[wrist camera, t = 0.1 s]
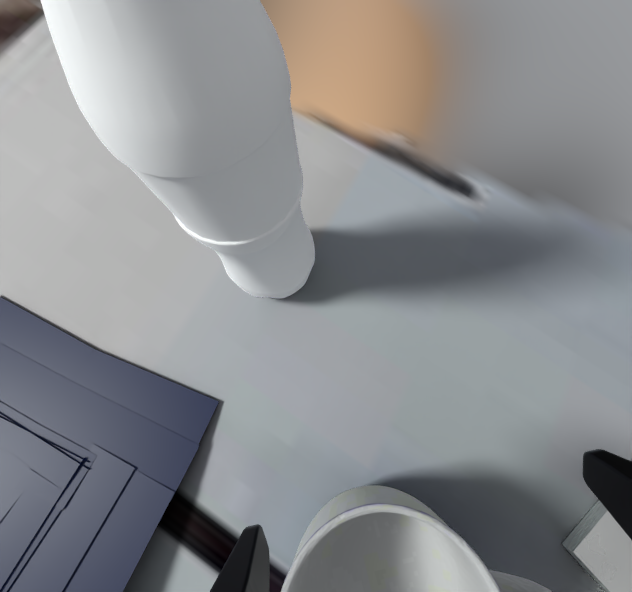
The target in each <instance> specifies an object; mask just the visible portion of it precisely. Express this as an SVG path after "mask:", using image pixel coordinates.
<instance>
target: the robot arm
mask: <svg viewBox="0 0 632 592" xmlns="http://www.w3.org/2000/svg"><path fill="white" fill-rule="evenodd" d="M583 478H584V480H585V482H586V484H587V485H588V487H589V488H590V489H591V491H592V492H593V493H594V494H595V495H596V497H597V498H598V499H599V500H600V502H601V503H602V504H603V505H604V507H605V508H606V509H607V510H608V512H609V513H610V514H611V515H612V517H613V518H614V519H615V520H616V522H617V523H618V524H619V525H620V526H621V528H622V529H623V530H624V531H625V533H626V534H627V535H628V536H629V538H630V539H631V540H632V462H631V461H629V460H626V459H624V458H622V457H619V456H617V455H615V454H612V453H610V452H607V451H605V450H601V449H596V450H592V451H587V452H585V453H584V455H583ZM210 592H269V548H268V544H267V541H266V538H265V535H264V532H263V529H262V527H261V526H260V525H258V524H257V525H253V526H248V527H246V528H245V529H244V530H243V532H242V534H241V536H240V538H239V539H238V541H237V543H236V545H235V547H234V549H233V550H232V552H231V554H230V556H229V558H228V559H227V561H226V563H225V565H224V567H223V569H222V570H221V572H220V574H219V576H218V578H217V579H216V581H215V583H214V585H213V587H212V589H211V590H210Z"/></svg>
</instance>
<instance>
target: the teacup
mask: <svg viewBox="0 0 632 592" xmlns="http://www.w3.org/2000/svg"><path fill="white" fill-rule="evenodd" d="M281 592H552V591H551V590H550V589H548V588H546V587H544V586H542V585H540V584H538V583H536V582H533V581H531V580H528V579H525V578H522V577H519V576H516V575H511V574H507V573H503V572H499V571H493V570H488V568H487V567H486V565H485V564H484V562H483V561H482V560H481V558H480V557H479V555H478V554H477V553H476V552H475V551H474V550H473V549H472V547H471V546H470V545H469V544H468V543H467V542H466V541H465V540H464V539H463V538H462V537H461V536H460V535H459V534H458V533H456V532H455V531H454V530H453V529H451V528H450V527H449V526H448V525H447V524H446V523H445V522H444V521H443V520H442V519H441V518H440V517H439V516H437V515H436V514H435V513H434V512H433V511H432V510H431V509H430V508H429V507H427V506H426V505H425V504H423V503H422V502H421V501H419V500H417V499H416V498H414V497H413V496H411V495H409V494H407V493H405V492H402V491H400V490H397V489H394V488H391V487H386V486H379V485H369V486H361V487H356V488H353V489H350V490H347V491H345V492H343V493H341V494H339V495H338V496H336V497H335V498H333V499H332V500H330V501H329V502H328V503H327V504H326V505H325V506H324V507H323V508H322V509H321V510H320V511H319V512H318V513H317V514H316V516H315V517H314V519H313V520H312V522H311V523H310V524H309V526H308V528H307V530H306V532H305V533H304V535H303V538H302V540H301V542H300V544H299V547H298V550H297V552H296V555H295V558H294V561H293V563H292V566H291V568H290V570H289V572H288V574H287V577H286V579H285V581H284V584H283V586H282V590H281Z"/></svg>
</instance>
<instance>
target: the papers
mask: <svg viewBox="0 0 632 592" xmlns="http://www.w3.org/2000/svg"><path fill="white" fill-rule="evenodd" d="M218 402H219V401H216V400H214V399H212V398H209V397H207V396H205V395H202V394H200V393H197V392H195V391H193V390H190V389H188V388H186V387H183V386H181V385H178V384H176V383H174V382H171V381H169V380H167V379H164V378H162V377H159V376H157V375H155V374H152V373H150V372H148V371H145V370H143V369H140V368H138V367H136V366H133V365H131V364H129V363H126V362H124V361H121V360H119V359H117V358H114V357H112V356H110V355H107V354H105V353H103V352H100V351H98V350H95V349H93V348H92V347H90V346H88V345H86V344H84V343H83V342H81V341H79V340H77V339H75V338H74V337H72V336H70V335H68V334H66V333H65V332H63V331H61V330H59V329H57V328H55V327H54V326H52V325H50V324H48V323H46V322H45V321H43V320H41V319H39V318H37V317H36V316H34V315H32V314H30V313H28V312H27V311H25V310H23V309H21V308H19V307H18V306H16V305H14V304H12V303H10V302H9V301H7V300H5V299H3V298H1V297H0V592H123V590H124V588H125V586H126V584H127V583H128V581H129V579H130V577H131V575H132V573H133V571H134V569H135V567H136V565H137V563H138V562H139V560H140V558H141V556H142V554H143V552H144V550H145V548H146V546H147V544H148V542H149V541H150V539H151V537H152V535H153V533H154V531H155V529H156V527H157V525H158V523H159V521H160V519H161V518H162V516H163V514H164V512H165V510H166V508H167V506H168V504H169V502H171V500H172V498H173V496H174V494H175V492H176V490H177V488H178V486H179V484H180V482H181V480H182V479H183V477H184V475H185V473H186V471H187V469H188V467H189V465H190V463H191V461H192V459H193V457H194V455H195V453H196V452H197V450H198V448H199V446H200V445H198V444H199V442H200V440H201V438H202V436H203V434H204V432H205V430H206V427H207V425H208V423H209V421H210V419H211V417H212V415H213V413H214V411H215V409H216V407H217V404H218Z"/></svg>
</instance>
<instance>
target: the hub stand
mask: <svg viewBox="0 0 632 592" xmlns="http://www.w3.org/2000/svg"><path fill="white" fill-rule="evenodd" d="M631 462H632V461H631ZM562 545H563V546H564V547H565V548H566V549H567V550H568V552H569V553H570V554H571V555H572V556H573V557H574V558H575V559H576V560H577V561H578V562H579V563H580V565H581V566H582V567H583V568H584V569H585V570H586V571H587V572H588V573H589V574H590V575H591V576H592V578H593V579H594V580H595V581H596V582H597V583H598V584H599V585H600V586H601V587H602V588H603V589H604V591H605V592H632V540H631V539H630V538H629V536H628V535H627V534H626V533H625V531H624V530H623V529H622V528H621V526H620V525H619V524H618V523H617V522H616V520H615V519H614V518H613V517H612V515H611V514H610V513H609V512H608V510H607V509H606V508H605V507H604V505H603V504H602V503H601V502H600V500H598V501H597V502H596V504H595V505H594V506H593V507H592V508H591V509H590V511H589V512H588V513H587V514H586V515H585V517H584V518H583V519H582V520H581V521H580V522H579V524H578V525H577V526H576V527H575V528H574V530H573V531H572V532H571V533H570V534H569V536H568V537H567V538H566V539H565V540H564V541H563V543H562Z"/></svg>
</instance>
